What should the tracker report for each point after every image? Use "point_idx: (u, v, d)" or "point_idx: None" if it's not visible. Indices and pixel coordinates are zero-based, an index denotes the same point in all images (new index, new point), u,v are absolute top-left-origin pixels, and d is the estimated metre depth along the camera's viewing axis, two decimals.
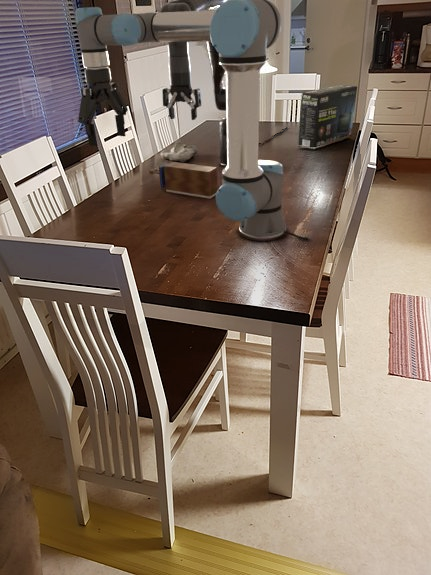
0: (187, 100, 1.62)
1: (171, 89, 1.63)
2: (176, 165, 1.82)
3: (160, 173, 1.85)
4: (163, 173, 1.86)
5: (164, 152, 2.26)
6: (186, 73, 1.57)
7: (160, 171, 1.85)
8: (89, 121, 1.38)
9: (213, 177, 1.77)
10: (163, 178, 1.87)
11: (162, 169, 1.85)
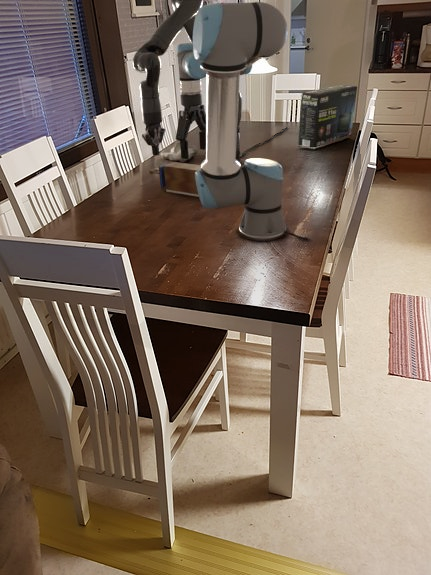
0: (159, 136, 1.82)
1: (150, 128, 1.77)
2: (176, 165, 1.82)
3: (160, 173, 1.85)
4: (163, 173, 1.86)
5: (164, 152, 2.26)
6: None
7: (160, 171, 1.85)
8: (184, 138, 1.61)
9: None
10: (163, 178, 1.87)
11: (162, 169, 1.85)
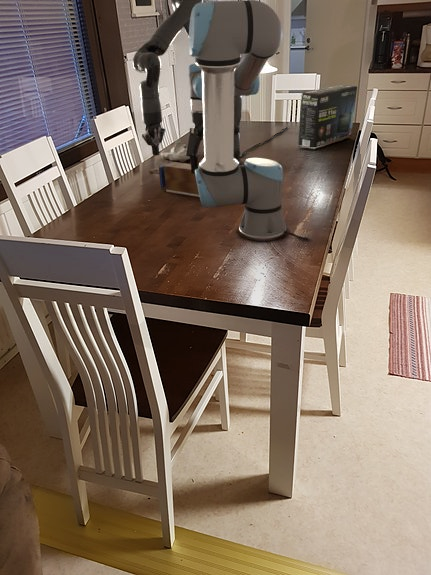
0: (159, 136, 1.82)
1: (150, 128, 1.77)
2: (176, 165, 1.82)
3: (160, 173, 1.85)
4: (163, 173, 1.86)
5: (164, 152, 2.26)
6: None
7: (160, 171, 1.85)
8: (195, 154, 1.67)
9: None
10: (163, 178, 1.87)
11: (162, 169, 1.85)
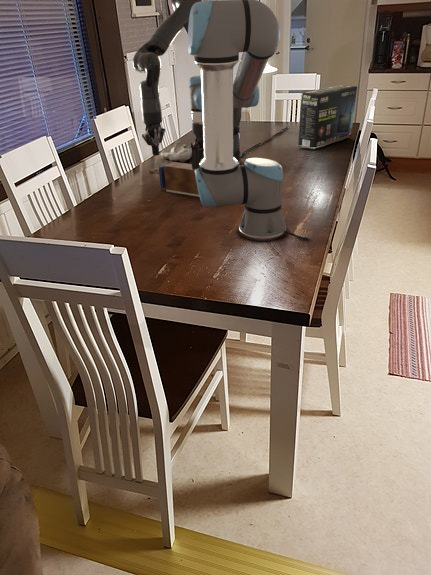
0: (159, 136, 1.82)
1: (150, 128, 1.77)
2: (176, 165, 1.82)
3: (160, 173, 1.85)
4: (163, 173, 1.86)
5: (164, 152, 2.26)
6: None
7: (160, 171, 1.85)
8: (200, 168, 1.72)
9: None
10: (163, 178, 1.87)
11: (162, 169, 1.85)
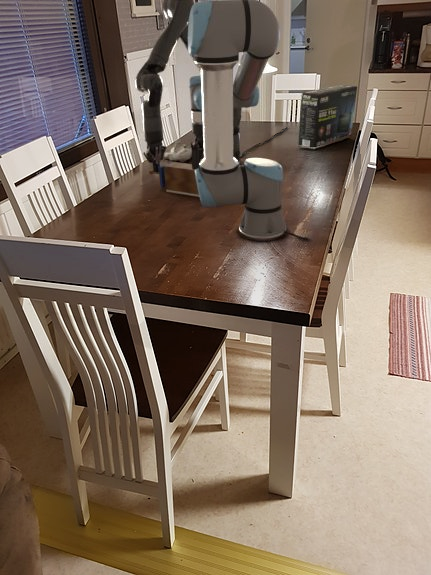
0: (160, 154, 1.85)
1: (151, 147, 1.80)
2: (176, 165, 1.82)
3: (160, 173, 1.85)
4: (163, 173, 1.86)
5: None
6: None
7: (160, 171, 1.85)
8: (200, 168, 1.72)
9: None
10: (163, 178, 1.87)
11: (162, 169, 1.85)
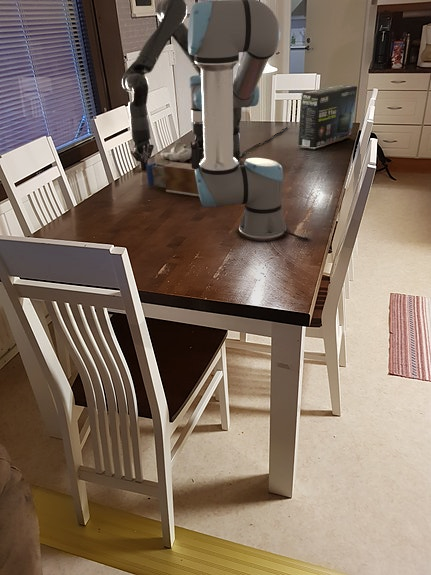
0: (148, 152, 1.88)
1: (138, 145, 1.83)
2: (175, 165, 1.82)
3: (147, 172, 1.88)
4: (150, 172, 1.89)
5: (164, 152, 2.26)
6: None
7: (147, 170, 1.88)
8: (200, 167, 1.72)
9: None
10: (151, 177, 1.90)
11: (149, 168, 1.88)
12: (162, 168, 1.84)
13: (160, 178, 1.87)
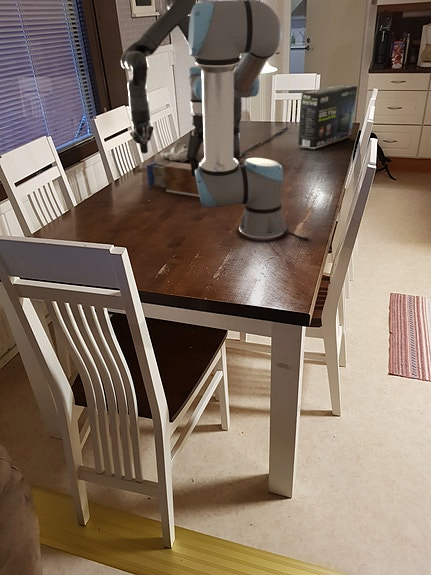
0: (147, 134, 1.84)
1: (138, 126, 1.79)
2: (176, 165, 1.82)
3: (148, 171, 1.88)
4: (151, 171, 1.89)
5: (164, 152, 2.26)
6: None
7: (148, 169, 1.87)
8: (195, 157, 1.67)
9: None
10: (151, 176, 1.89)
11: (150, 167, 1.87)
12: (162, 167, 1.84)
13: (160, 178, 1.87)
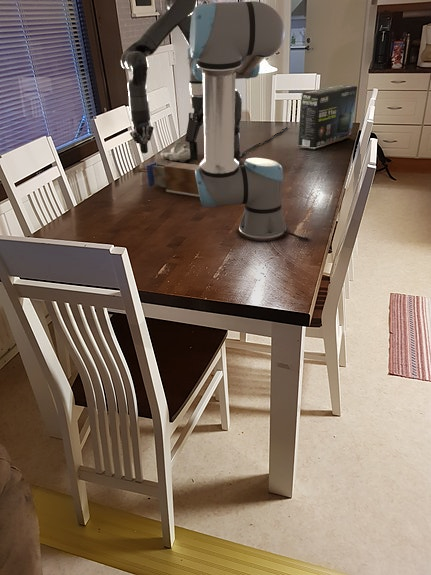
0: (147, 134, 1.84)
1: (138, 126, 1.79)
2: (176, 165, 1.82)
3: (148, 171, 1.88)
4: (151, 171, 1.89)
5: (164, 152, 2.26)
6: None
7: (148, 169, 1.87)
8: (194, 140, 1.64)
9: None
10: (151, 176, 1.89)
11: (150, 167, 1.87)
12: (162, 167, 1.84)
13: (160, 178, 1.87)
